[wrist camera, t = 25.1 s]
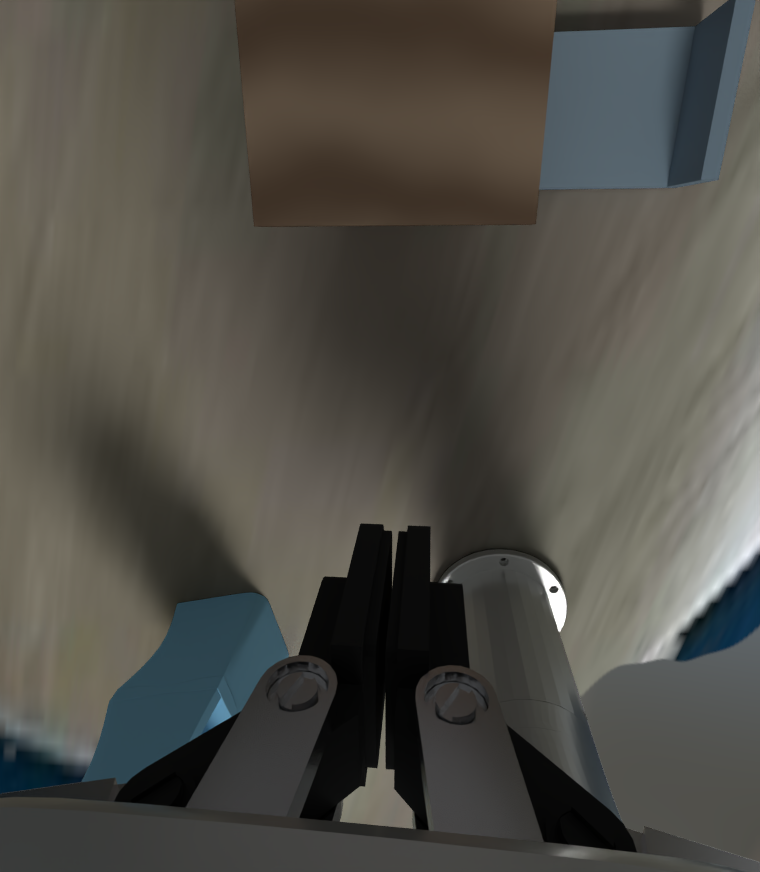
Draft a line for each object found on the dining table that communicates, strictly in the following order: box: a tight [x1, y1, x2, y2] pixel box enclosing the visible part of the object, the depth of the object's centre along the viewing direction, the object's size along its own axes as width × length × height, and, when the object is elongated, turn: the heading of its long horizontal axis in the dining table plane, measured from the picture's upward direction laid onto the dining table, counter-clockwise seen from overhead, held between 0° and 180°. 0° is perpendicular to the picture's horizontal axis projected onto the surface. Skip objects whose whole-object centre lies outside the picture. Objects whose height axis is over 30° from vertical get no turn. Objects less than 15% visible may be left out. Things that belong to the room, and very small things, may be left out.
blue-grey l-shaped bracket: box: [539, 0, 755, 190], centre depth 33 cm, size 9×23×6 cm, turn 90°
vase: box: [82, 592, 289, 784], centre depth 44 cm, size 10×10×25 cm
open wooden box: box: [235, 0, 557, 227], centre depth 29 cm, size 14×13×17 cm
